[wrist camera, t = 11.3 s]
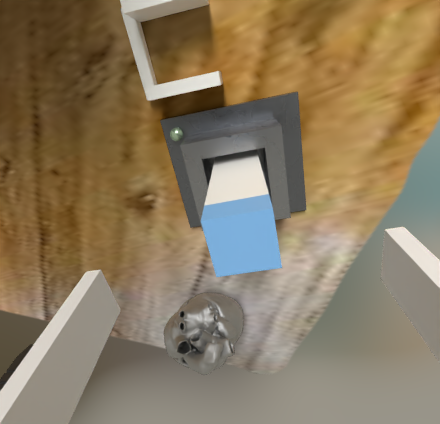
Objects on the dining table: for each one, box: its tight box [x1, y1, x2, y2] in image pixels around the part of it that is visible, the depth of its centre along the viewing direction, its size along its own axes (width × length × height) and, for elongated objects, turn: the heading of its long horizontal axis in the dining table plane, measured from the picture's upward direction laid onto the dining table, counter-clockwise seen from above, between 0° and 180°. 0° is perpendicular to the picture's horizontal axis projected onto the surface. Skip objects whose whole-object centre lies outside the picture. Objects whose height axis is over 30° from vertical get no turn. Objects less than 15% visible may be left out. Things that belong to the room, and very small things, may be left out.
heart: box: [164, 290, 243, 375], centre depth 33 cm, size 10×10×12 cm
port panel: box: [160, 92, 306, 231], centre depth 27 cm, size 12×13×5 cm
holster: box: [120, 0, 223, 101], centre depth 23 cm, size 7×7×4 cm
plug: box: [201, 149, 282, 277], centre depth 22 cm, size 4×4×14 cm
